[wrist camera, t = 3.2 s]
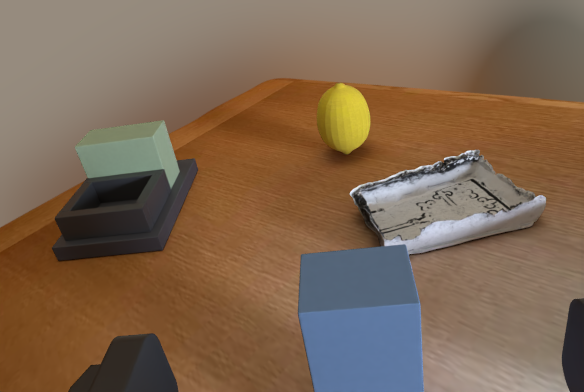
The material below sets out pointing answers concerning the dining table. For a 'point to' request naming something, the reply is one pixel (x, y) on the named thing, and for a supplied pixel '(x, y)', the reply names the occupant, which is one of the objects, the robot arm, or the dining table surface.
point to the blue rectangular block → (361, 320)
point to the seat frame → (124, 193)
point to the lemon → (343, 118)
